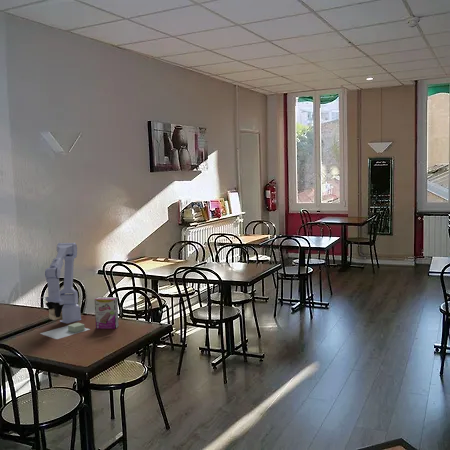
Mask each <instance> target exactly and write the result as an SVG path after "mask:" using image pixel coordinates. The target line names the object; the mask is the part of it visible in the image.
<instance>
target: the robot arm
mask: <svg viewBox="0 0 450 450" xmlns="http://www.w3.org/2000/svg"><path fill="white" fill-rule="evenodd" d="M56 251H57V252H56V253H57V254H56V257H55V258H53V259H52V261H51V263H50V265H49V267H47V268H46V269H45V273H44V277H45V281H46V283H47V295H48V296H45V298H44V299H45V305H46V307H47V310H49V309H52V308H54V310H55V315H56V317H60V315H61V313H62V318H61V319H60V320H59V322H60V323H63V324H68V325H69V324H73V323H76V322H79V321H81V320H82V316H81V307H80V305H79V304H78V303H79V296H78V295H79V294H78V291H77V290H76V289H74V266H75V265H74V263H75V259H76V258H77V257H78V247H77V243H76V242H58V243H57V245H56ZM63 266H64V269H63V270H64V273H63V274H64V275H63V276H64V277H63V288H62V289H61V288H60V278H61V273H62V268H63ZM60 289H61V290H60Z"/></svg>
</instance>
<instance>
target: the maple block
mask: <svg viewBox="0 0 450 450" xmlns="http://www.w3.org/2000/svg"><path fill="white" fill-rule="evenodd" d="M48 317H49V320H52V321H56V320H62V319H63V318H62V312H61V315H60V317H56V315H55V310H54V308H52V309H48Z"/></svg>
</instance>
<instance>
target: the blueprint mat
mask: <svg viewBox="0 0 450 450" xmlns="http://www.w3.org/2000/svg"><path fill="white" fill-rule="evenodd" d="M90 330H91V329H90V328H88V327H87V328H86V327H85V330H83V331H80V332H76V333H74V332H71V331H68V325H65V326H62V327H58V328H53V329H51V330H48V331H44V332H39V334H40V335H43V336H44V337H45V336H46V337H49V338H52V339H54V340H60V339H63V338H67V337H69V336H72V335H76V334H80V333H83V332H86V331H90Z"/></svg>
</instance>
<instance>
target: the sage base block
mask: <svg viewBox="0 0 450 450" xmlns="http://www.w3.org/2000/svg"><path fill="white" fill-rule="evenodd" d="M67 326H68V331H71V332H74V333H76V332H80V331H83V330H85V328H86V327H85V326H86V325H85V324H84V323H81V322H73V323H69V324H68V325H67ZM83 332H84V331H83ZM80 333H81V332H80Z"/></svg>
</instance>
